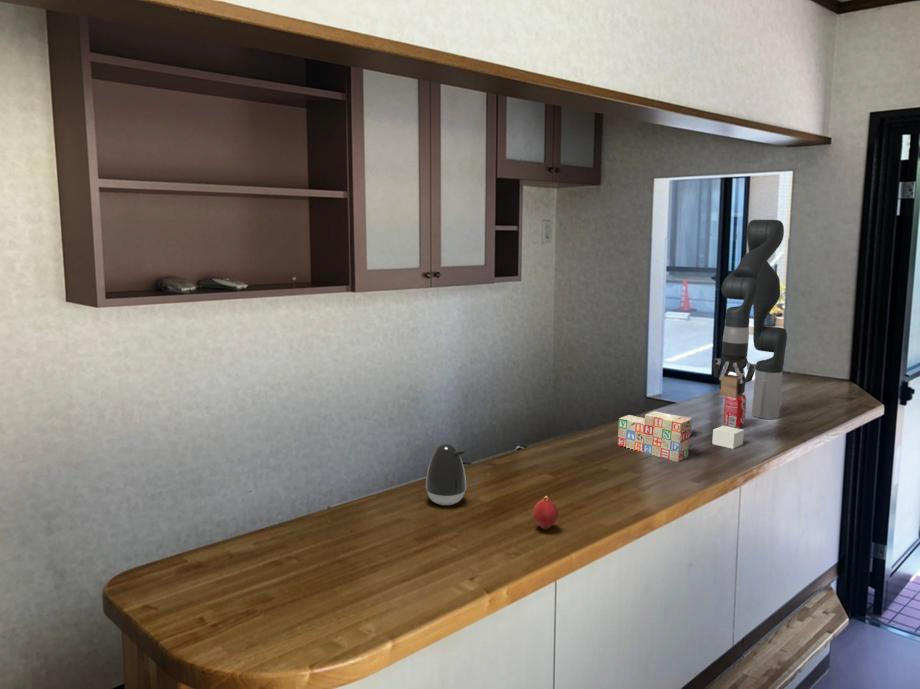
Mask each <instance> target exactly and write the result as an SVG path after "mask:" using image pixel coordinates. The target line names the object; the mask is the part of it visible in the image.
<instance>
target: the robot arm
mask: <svg viewBox="0 0 920 689" xmlns="http://www.w3.org/2000/svg"><path fill="white" fill-rule="evenodd" d="M784 228H785V227H784V224H783V222H782V221H781V220H779V219H752V220H751V221H749V222H748V225H747V227H746V240H747V248H748V252H747V253H746V254H745V255H744V256H743V257H742V258H741V260H740V261H739V264H738V266H737V267H736V268H735V269H734V270H733V271H732V272H730V273H729V274H728V275H727V276H726V277H725V279H724V280H723V281H722V284H721V294H722V296H723V297H724V298H726V299H729V300H737V301H738V300H739V301H743V302H742V304H741V305H738V306H731V307H728V308H727V309H726V312H725V323H724V324H725V325H724V328H723V336H722V351H721V357H720V358H718V357H717V358H714V359H712V360H711V363H712V370H713V371H712V372H713V376H714V378H715V379H719V390H720V391H721V380H722V376H726V375H730V373H735V376H737V377H738V379H739V385H738V395H742V394H743V393H745V391H746V384H748V383H750V382H752V381H753V377H754V383H753V384H754V385H753V386H754V387H753V394H752V395H753V397H752V408H751V415H752V416H753V417H754V418H759V419H766V420H774V419H775V420H776V419H778V418H779V416H780V415H779V414H780V404H781V396H782V395H781V394H782V383H783V372H784V362H785V354H786V348H787V343H788V342H787V340H788V332H787V330H786V328H784V327H778V326H777V327H776V326H767V325H766V324H765V323H766V322H765V321H766V318H767V317H768V315H769V314H770V312H771V311H772V310H773V308H774V307H775V306H776V305H777V303H778V302H779V301H780V297H781V282H780V277H779V275H778V273H777V272H776V271H775V269H774V268H773V267H772V265H771V264H770V263H769V260H770V258H772V256H773V255H774V254H775V252H776V251H777V250H778V248H780V247H781V244H782V243H783V242H782V241H783V239H784V235H785V234H784V233H785V229H784ZM752 308H753V309H752ZM752 310H753V329H752V330H753V335H752V336H753V337H752V338H753V346H754V349H755V350H757V351H760V352H765V353H773V355H772V356H771V357H770V358H767V359H762V360H761V359H760V360H759V361H758V360H757V362H756V363H751V362H749V361H748V350H749V349H748V348H749V337H750V331H749V328H750V327H749V326H750V315H751V311H752ZM721 364H722V366H723V368H722V370H721ZM745 367H746V368H747V369H746V370H747V372H746V373H745V370H744V369H745Z"/></svg>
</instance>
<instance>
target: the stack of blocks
mask: <svg viewBox="0 0 920 689" xmlns="http://www.w3.org/2000/svg"><path fill="white" fill-rule="evenodd" d="M681 416H682V415H678V416H677V415H675V414H671V413H665V412H660V411H655V410H654V411H651V412H649V413H647V414H645V415H644V417H642V416H641V417H640V416H635V415H631V414H628V415H624V416H621V417H619V418H618V426H617V427H618V429H617V432H618V433H617V437H618V438H617V446H618V445H619V446H618V447H620V446H623V447H622V448H624V447H626V448H625V449H627V448H630V449H629V450H631V449H633V451H635V450H637V451H636V452H639V451H641V452H640V453H643V452H644V453H643V454H646V453H647V455H650V454H651V456H654V455H655V457H658V458H659V457H660V458H662V459H665V458H666V459H667V460H669V461H673V462H678V463H680V461H683V460H686V459H687V458H689V447H690V437H691V435H690V426H691V419H687V418H683V417H681Z"/></svg>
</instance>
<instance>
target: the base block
mask: <svg viewBox="0 0 920 689" xmlns="http://www.w3.org/2000/svg"><path fill="white" fill-rule="evenodd" d="M744 434H745V429H741V428H733V427H728V426H726V425H725V424H723V425H720V426H719V427H716V428H714V429H712V442H711V443H712V445H715V446H719V447H724V448H729V449H732V450H734V449H735V448H738V447H740V446H742V445H744Z"/></svg>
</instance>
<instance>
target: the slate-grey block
mask: <svg viewBox="0 0 920 689" xmlns="http://www.w3.org/2000/svg"><path fill="white" fill-rule="evenodd" d="M676 416H679V415H676ZM680 416H681V417H683V418H687V419H691V426H690V436H691V435H692V426H693V417H690V416H684V415H680Z"/></svg>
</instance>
